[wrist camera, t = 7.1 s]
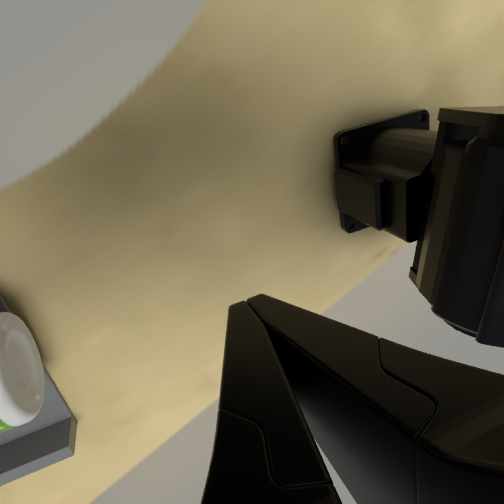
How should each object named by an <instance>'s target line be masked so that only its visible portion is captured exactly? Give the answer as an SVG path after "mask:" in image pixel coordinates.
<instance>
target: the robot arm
mask: <svg viewBox="0 0 504 504" xmlns="http://www.w3.org/2000/svg"><path fill="white" fill-rule="evenodd" d="M420 116H421V120H420V121H419V118H420ZM438 120H439V121H440V122H439V127H438V131H430V130H429V113H428V111H427V110H421V109H420V110H415V111H411V112H408V113H404V114H400V115H397V116H393V117H390V118H386V119H383V120H379V121H375V122H372V123H368V124H365V125H361V126H357V127H354V128H350V129H347V130H343V131H340V132H338V133H337V134H336V135H335V137H334V150H335V161H336V170H335V183H336V193H337V204H338V209H339V210H340V216H341V226H342V229H343V230H344V231H346V232H348V233H353V232H356V231H358V230H361V229H364V228H367V227H370V226H371V227H373V228H375V229H376V230H379V231H380V230H385V231H387V232H389V233H391V234H393V235H395V236H396V237H398V238H400V239H402V240H404V241H406V242H408V243H411V242H414V241H416V240H417V246H416V251H415V256H414V262H413V267H410V272H409V278H410V279H411V280H412V282H413V283H414V284H415V285H416V287H417V288H418V290H419V292H420V293H421V294H422V295H423V296H424V297H425V298H426V299H427V300H428V302H429V303H430V304H431V305H432V307H431V310H432V311H433V312H434V314H435V315H436V316H438V317H440V318H442V319H443V320H444V321H445V322H446V323H447V324H449V325H450V326H452V327H453V328H454V329H456V330H458V331H461V332H462V333H464V334H467V335H470V336H472V337H475V338H476V341H477V342H478V343H481V344H485V345H491V346H497V347H503V348H504V106H497V107H455V108H440V109H439V114H438ZM342 137H345V141H344V143H343V144H342V143H341V139H342ZM349 223H351V226H350V227H348V225H349ZM313 437H314V438H313ZM314 439H315V440H316V442H317V443H318V445H319V446H320V448H321V449H322V451H323V452H324V454H325V455H326V457H327V458H328V460H329V461H330V463H331V465H332V466H333V467H334V469H335V471H336V472H337V474H338V475H339V477H340V478H341V480H342V481H343V483H344V484H345V486H346V487H347V489H348V490H349V492H350V494H351V495H352V497H353V498H354V500H355V501H356V503H357V504H504V375H502V374H499V373H495V372H491V371H487V370H484V369H480V368H477V367H473V366H469V365H466V364H462V363H458V362H455V361H451V360H448V359H444V358H441V357H438V356H434V355H431V354H427V353H424V352H421V351H418V350H415V349H412V348H409V347H406V346H403V345H400V344H398V343H395V342H392V341H389V340H387V339H384V338H379V339H378V336H375V335H373V334H370V333H367V332H365V331H362V330H359V329H357V328H354V327H351V326H348V325H346V324H343V323H340V322H338V321H335V320H332V319H329V318H327V317H324V316H321V315H319V314H316V313H313V312H311V311H308V310H305V309H302V308H300V307H297V306H294V305H292V304H289V303H286V302H284V301H281V300H278V299H275V298H273V297H270V296H267V295H265V294H259V295H256V296H253V297H251V298H248V299H247V301H241V302H238V303H235V304H233V305H231V306H229V309H228V319H227V329H226V339H225V348H224V358H223V368H222V378H221V387H220V397H219V410H218V415H217V424H216V432H215V439H214V446H213V452H212V457H211V462H210V467H209V471H208V476H207V480H206V484H205V488H204V492H203V496H202V500H201V504H342V502H341V500H340V498H339V496H338V493H337V491H336V489H335V487H334V486H333V482H332V479H331V477H330V475H329V472H328V470H327V468H326V465H325V463H324V461H323V458H322V456H321V454H320V452H319V449H318V447H317V445H316V442H315V440H314Z"/></svg>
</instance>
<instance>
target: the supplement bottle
mask: <svg viewBox="0 0 504 504" xmlns="http://www.w3.org/2000/svg"><path fill="white" fill-rule="evenodd" d="M44 389H45V378H44V369H43V365H42V361H41V357H40V354H39V351H38V348H37V345H36V343H35V341H34V338H33V336H32V334H31V333H30V331H29V329H28V328H27V326H26V325H25V323H24V322H23V321H22V320H21V319H20V318H19V317H18V316H16V315H14V314H12V313H9V312H0V433H1V432H4V431H6V430H9V429H12V428H15V427H17V426H20V425H22V424H25V423H27V422H29V421H31V420H32V419H34V418H35V417H36V415H37V414H38V412H39V411H40V408H41V406H42V403H43V398H44Z"/></svg>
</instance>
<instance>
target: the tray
mask: <svg viewBox="0 0 504 504" xmlns="http://www.w3.org/2000/svg"><path fill="white" fill-rule="evenodd" d="M0 312H9V313H11V311H10V309H9V308H8V306H7V304H6V303H5V301H4V299H3V298H2V296H1V294H0ZM42 365H43V364H42ZM43 369H44V378H45V389H44V398H43V403H42V406H41V408H40V411H39V412H38V414H37V415H36V417H35V418H34V419H32V420H31V421H29V422H27V423H25V424H22V425H20V426H17V427H15V428H12V429H9V430H6V431H4V432H1V433H0V486H2V485H4V484H7V483H9V482H11V481H14V480H16V479H18V478H21V477H23V476H26V475H28V474H30V473H33V472H35V471H38V470H40V469H42V468H45V467H47V466H49V465H52V464H54V463H57V462H59V461H61V460H64V459H66V458H68V457H71V456H73V455H74V451H75V440H76V430H77V420H76V419H75V417H74V415H73V414H72V412H71V410H70V409H69V407H68V405H67V404H66V402H65V400H64V399H63V397H62V395H61V394H60V392H59V391H58V389H57V387H56V386H55V384H54V382H53V381H52V379H51V377H50V376H49V374H48V372H47V371H46V369H45V367H44V366H43Z"/></svg>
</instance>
